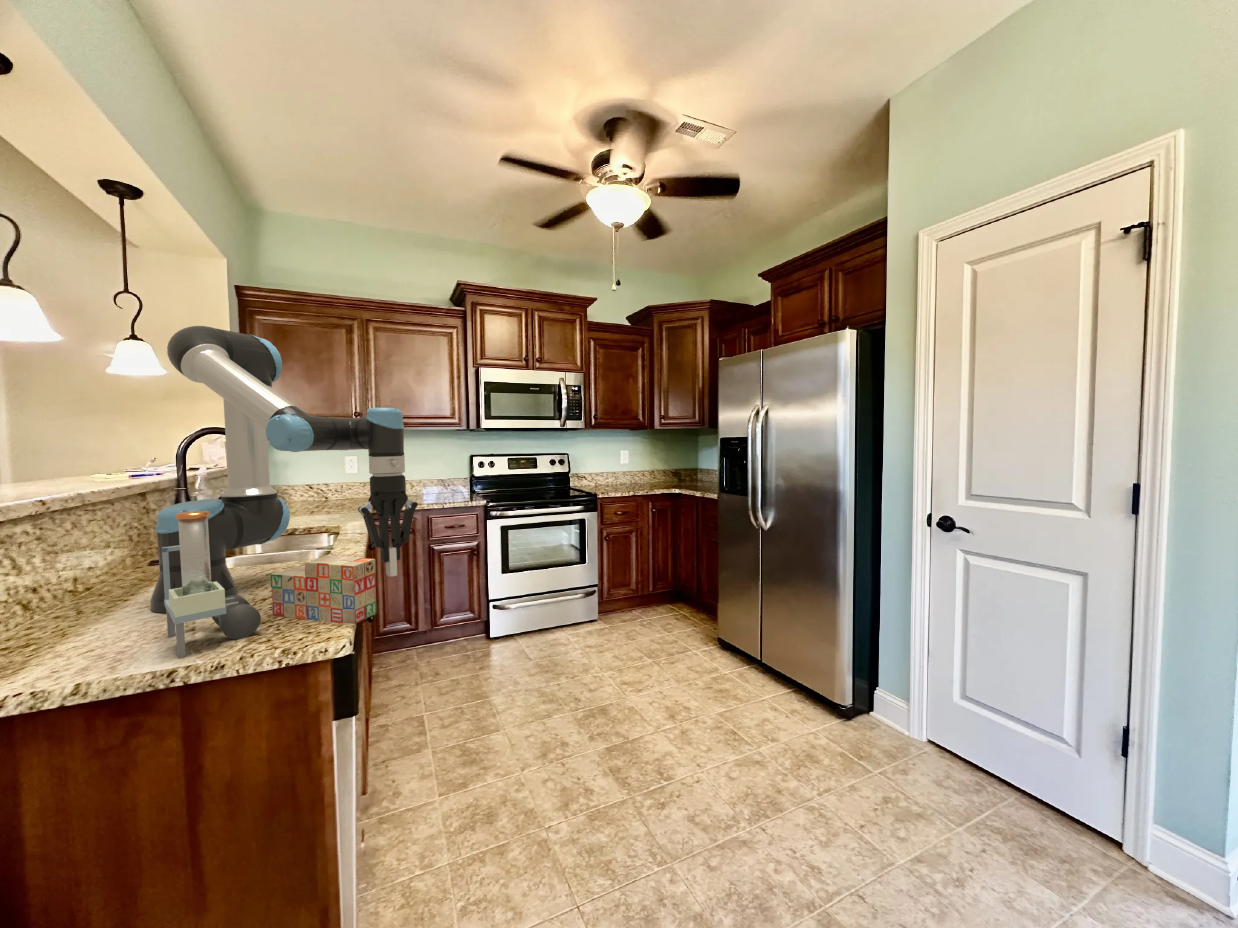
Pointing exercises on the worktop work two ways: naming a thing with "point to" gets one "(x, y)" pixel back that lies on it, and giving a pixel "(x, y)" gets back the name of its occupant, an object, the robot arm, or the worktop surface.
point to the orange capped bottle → (194, 552)
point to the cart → (210, 613)
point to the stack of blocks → (326, 590)
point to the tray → (196, 601)
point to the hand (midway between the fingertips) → (391, 574)
